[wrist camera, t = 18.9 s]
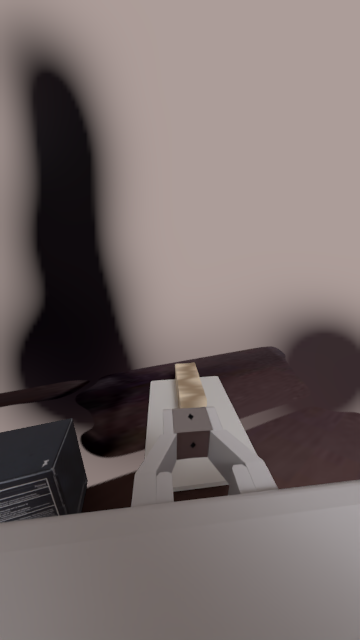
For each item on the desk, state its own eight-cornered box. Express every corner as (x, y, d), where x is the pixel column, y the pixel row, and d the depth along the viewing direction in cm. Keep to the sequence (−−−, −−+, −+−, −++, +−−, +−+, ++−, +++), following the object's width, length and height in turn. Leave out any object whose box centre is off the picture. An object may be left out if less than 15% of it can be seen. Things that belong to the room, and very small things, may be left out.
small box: (89, 476, 25) (75, 414, 22) (77, 544, 19) (54, 471, 16) (-5, 501, 23) (-36, 435, 19) (-53, 588, 17) (-110, 512, 13)
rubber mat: (142, 495, 23) (141, 491, 23) (151, 384, 44) (150, 381, 43) (266, 479, 24) (267, 475, 24) (217, 378, 45) (217, 376, 45)
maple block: (180, 402, 31) (175, 364, 42) (180, 423, 32) (175, 381, 43) (207, 399, 31) (194, 362, 42) (206, 421, 32) (194, 379, 44)
